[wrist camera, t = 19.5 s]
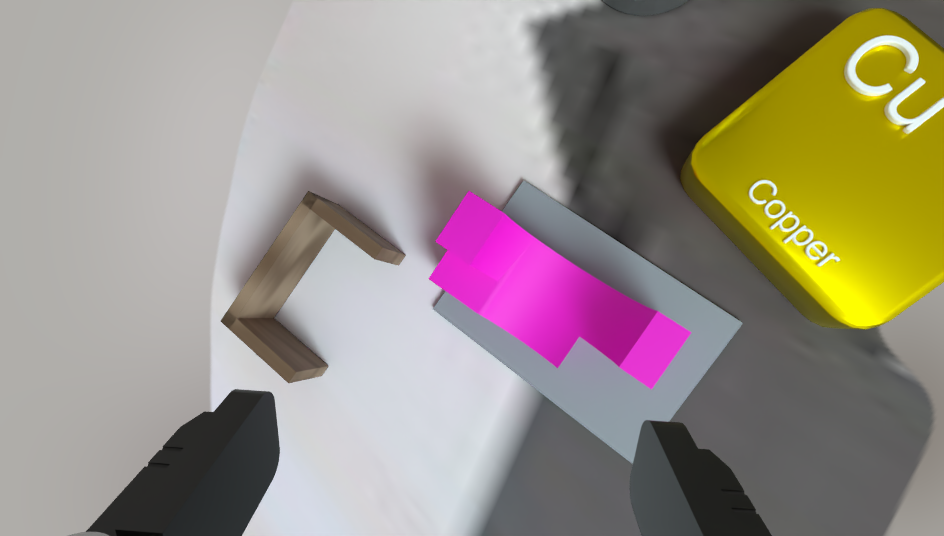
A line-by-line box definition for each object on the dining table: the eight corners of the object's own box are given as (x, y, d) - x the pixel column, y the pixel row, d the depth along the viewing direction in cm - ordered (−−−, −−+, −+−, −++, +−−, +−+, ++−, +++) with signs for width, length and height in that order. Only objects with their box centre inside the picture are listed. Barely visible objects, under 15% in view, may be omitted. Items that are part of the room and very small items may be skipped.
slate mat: (524, 181, 37) (523, 180, 37) (741, 323, 33) (742, 323, 32) (434, 309, 38) (432, 308, 38) (634, 464, 34) (635, 466, 33)
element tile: (666, 175, 35) (677, 154, 31) (842, 31, 34) (883, -15, 29) (824, 341, 32) (864, 345, 27) (1030, 191, 30) (1110, 168, 26)
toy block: (447, 283, 38) (413, 275, 30) (492, 215, 37) (468, 190, 30) (617, 403, 34) (625, 427, 27) (669, 329, 33) (691, 332, 26)
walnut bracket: (338, 204, 41) (308, 191, 36) (405, 255, 39) (382, 247, 35) (259, 320, 41) (220, 321, 37) (321, 376, 40) (288, 383, 35)
